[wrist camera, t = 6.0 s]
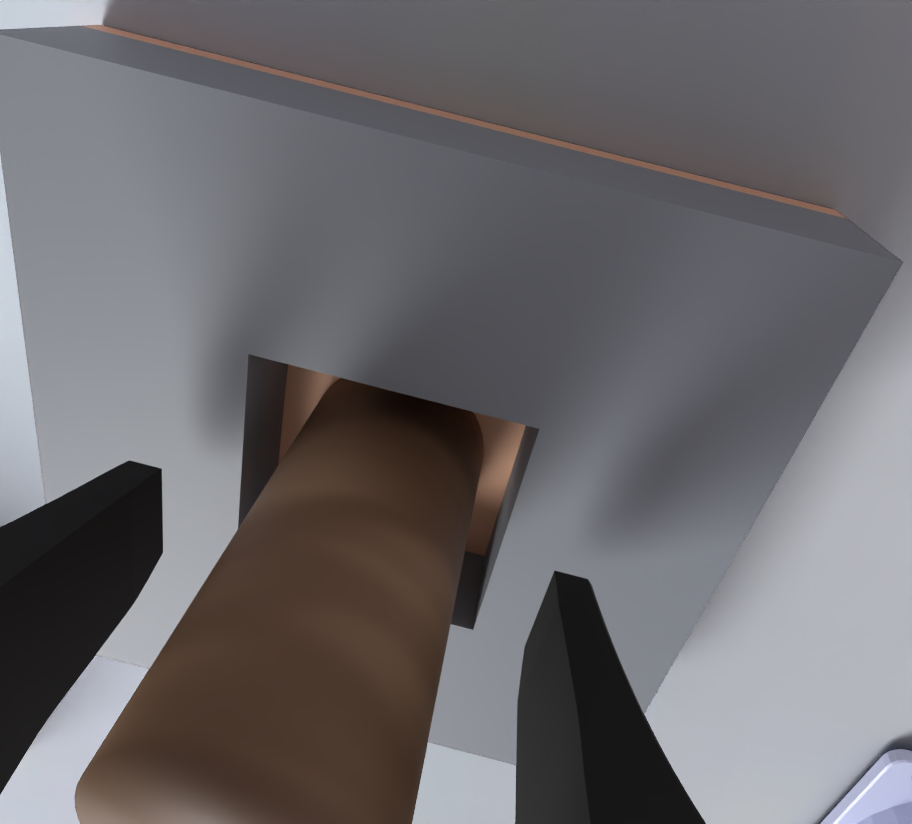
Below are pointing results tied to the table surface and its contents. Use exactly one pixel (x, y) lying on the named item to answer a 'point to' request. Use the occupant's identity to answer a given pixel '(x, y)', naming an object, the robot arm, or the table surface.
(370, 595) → the peg
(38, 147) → the socket block
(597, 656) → the robot arm
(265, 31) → the table surface
